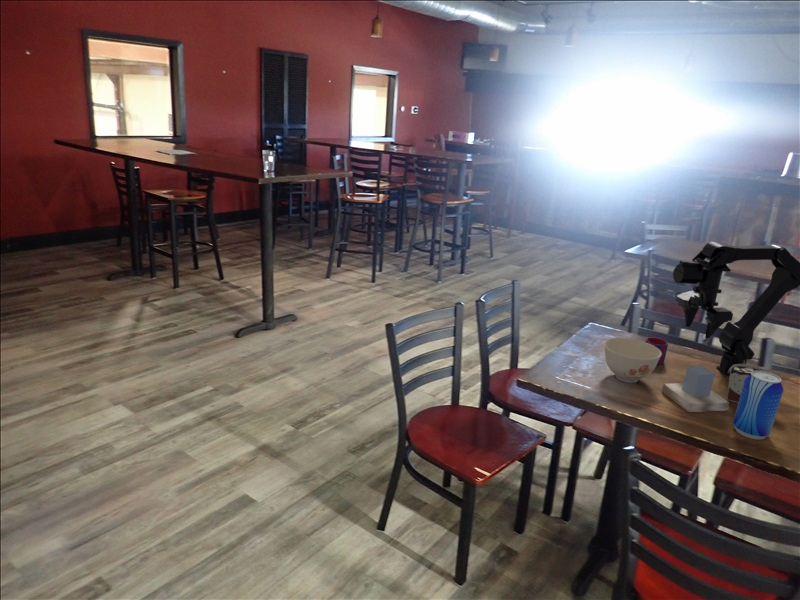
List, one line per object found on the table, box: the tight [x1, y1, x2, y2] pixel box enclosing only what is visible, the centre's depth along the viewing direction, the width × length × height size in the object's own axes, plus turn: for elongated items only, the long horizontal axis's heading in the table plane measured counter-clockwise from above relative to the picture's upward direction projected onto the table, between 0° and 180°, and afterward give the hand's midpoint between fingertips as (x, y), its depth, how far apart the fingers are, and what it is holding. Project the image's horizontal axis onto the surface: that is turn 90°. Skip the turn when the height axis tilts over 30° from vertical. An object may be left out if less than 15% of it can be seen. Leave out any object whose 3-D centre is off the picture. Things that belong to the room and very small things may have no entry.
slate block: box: [682, 365, 716, 397], centre depth 163 cm, size 5×5×7 cm
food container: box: [726, 363, 775, 404], centre depth 165 cm, size 12×6×10 cm, turn 59°
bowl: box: [604, 337, 661, 384], centre depth 175 cm, size 16×16×10 cm
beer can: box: [732, 371, 784, 441], centre depth 147 cm, size 8×8×16 cm
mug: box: [645, 336, 669, 366], centre depth 191 cm, size 7×10×7 cm
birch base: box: [661, 382, 730, 413], centre depth 164 cm, size 12×12×2 cm
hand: (697, 332), depth 181 cm, fingers open, 9 cm apart
